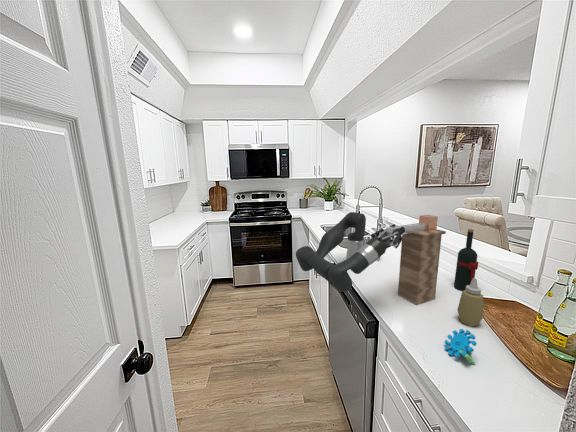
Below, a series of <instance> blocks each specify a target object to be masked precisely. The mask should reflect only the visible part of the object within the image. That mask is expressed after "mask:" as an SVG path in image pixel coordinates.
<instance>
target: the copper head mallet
mask: <svg viewBox="0 0 576 432" xmlns="http://www.w3.org/2000/svg"><path fill="white" fill-rule="evenodd" d="M438 218H439V217H438V216H436V215H431V214H422V215H421V214H420V215H419V219H418V222H416V223H409V224H404V225H396V226H394V227H390V226H387V227H386V229H387V232H386V235H389V234H393V233H395V232H396V231H397V230H398V229H400V228H401V227H404V228H405V232H404V233H403V234H410V233H416V232H422V231H433V230H437V229H438V227H437V226H438ZM403 234H402V235H403ZM402 235H401V236H402ZM394 237H396V235H395V236H394Z"/></svg>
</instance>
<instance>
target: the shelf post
mask: <svg viewBox="0 0 576 432" xmlns="http://www.w3.org/2000/svg"><path fill="white" fill-rule="evenodd" d="M445 234H447V232H446V231H445V230H443V229H442V230H441V229H438V228H437V230H433V231H422V232H416V233H410V234H403V235H401V236H402V241H401V247H400V258H399V260H400V261H399V273H398V288H397V296H399V297H400V298H402V299H404V300H406V301H407V302H409V303H411V304H413V305H414V306H419V305H421V304H425V303H428V302H431V301H435V299H436V291H437V283H438V282H437V280H438V273H439V263H440V255H441V254H440V253H441V244H442V243H441V242H442V235H445Z"/></svg>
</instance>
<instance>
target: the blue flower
mask: <svg viewBox="0 0 576 432" xmlns="http://www.w3.org/2000/svg"><path fill="white" fill-rule="evenodd" d="M458 331H459V332H458ZM458 331H457V330H453V331H452V334H453V336H452V335H451V334H448V335H447V336H446V337H447V339H448V340H447V339H445V340H444V342H443V343H444V344H445V346H444V350H445V351H446V352H447V353H448V355H450V357H453V356H454V357H456V358H457V359H460V358H461V355H462V356H463V358H464V359H465V360H466V361H468V362H469V363H471V364H472V365H473V366H475V365H476V362H475V361H474V360H473V359H472V356H471V355H472V354H473V352H474V351H475V349H474V348H473V347H476V346H477V341H475V339H476V336H475V335H474V334H473V333H472V332H471V331H470V330H469V329H466V331H465V329H463V328H459V330H458ZM470 339H471V340H470ZM470 344H471V345H472V346H473V347H472V346H470Z"/></svg>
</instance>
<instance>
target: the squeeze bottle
mask: <svg viewBox="0 0 576 432" xmlns="http://www.w3.org/2000/svg"><path fill="white" fill-rule="evenodd" d="M481 292H482V288H480V287H479V286H478V280H477V278H476V277H475V278H473V279H472V281H471V283H470V285H467V286H466V289H465V290H464V291H461V295H460V299H459V302H458V306H457V309H456V310H457V314H458V317H459V321H460V322H461V323H463V324H464V325H467V326H470V327H478V326H479V324H480V323H481V321H482V320H483V319H484V295H483V294H482V293H481Z"/></svg>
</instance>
